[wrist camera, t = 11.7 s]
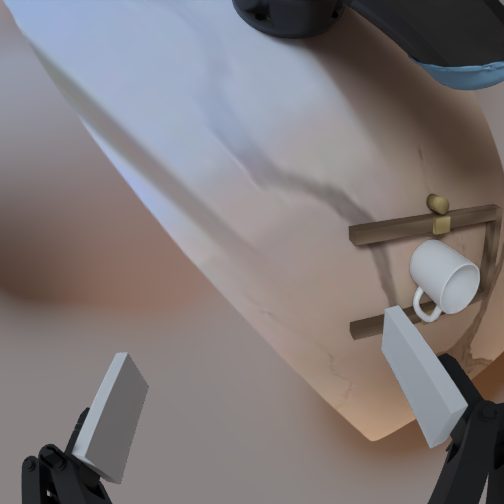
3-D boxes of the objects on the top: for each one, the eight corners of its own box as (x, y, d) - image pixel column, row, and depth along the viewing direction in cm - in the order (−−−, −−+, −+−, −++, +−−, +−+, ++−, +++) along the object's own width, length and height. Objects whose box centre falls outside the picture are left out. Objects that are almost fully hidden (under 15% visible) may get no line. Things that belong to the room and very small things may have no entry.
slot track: (347, 204, 37) (355, 210, 34) (494, 187, 36) (506, 191, 33) (349, 332, 46) (355, 344, 42) (480, 292, 44) (489, 300, 41)
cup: (451, 248, 40) (487, 273, 31) (419, 305, 44) (446, 338, 35) (423, 230, 39) (461, 255, 29) (388, 293, 43) (416, 328, 33)
